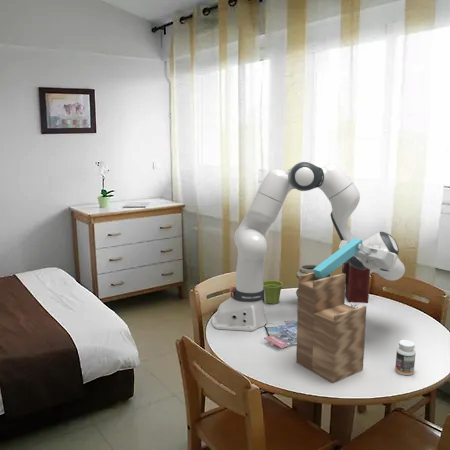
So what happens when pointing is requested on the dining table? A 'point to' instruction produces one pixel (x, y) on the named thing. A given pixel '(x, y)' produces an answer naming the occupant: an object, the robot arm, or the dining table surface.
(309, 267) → the apothecary jar
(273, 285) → the plant pot
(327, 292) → the stepped wooden block
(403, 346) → the pill bottle
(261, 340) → the dining table surface
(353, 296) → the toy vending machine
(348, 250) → the bar
